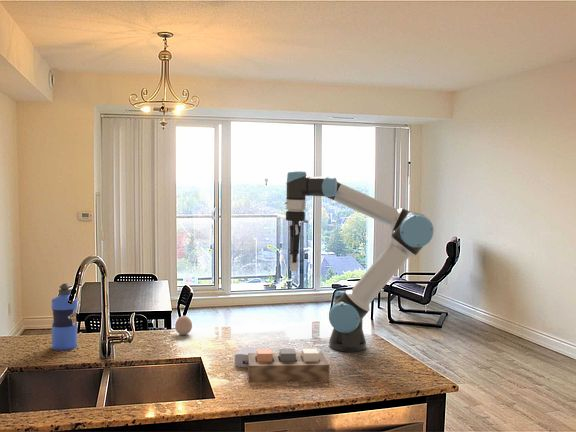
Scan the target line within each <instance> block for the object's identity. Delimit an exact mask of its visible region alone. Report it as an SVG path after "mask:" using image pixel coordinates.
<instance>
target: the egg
mask: <svg viewBox="0 0 576 432" xmlns="http://www.w3.org/2000/svg"><path fill="white" fill-rule="evenodd" d="M174 325H175V326H174V329H175V331H176V332H177V334H179V335H181V336H186V335H189V334H190V332H192V329H193V322H192V320H191V319H190V317H188V316H187V315H181V316H179V317H178V318H177V320H176V322H175V324H174Z"/></svg>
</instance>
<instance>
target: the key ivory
mask: <svg viewBox="0 0 576 432" xmlns="http://www.w3.org/2000/svg"><path fill="white" fill-rule="evenodd" d="M301 353H302V361H303V362H319V353H320V352H319V351H318V349H317V348H301Z"/></svg>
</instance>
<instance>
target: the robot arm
mask: <svg viewBox="0 0 576 432" xmlns="http://www.w3.org/2000/svg"><path fill="white" fill-rule="evenodd" d="M286 175H287V176H286V177H287V178H286V200H285V202H284V204H285V209H286V211H285V220H286V221H288V222H291V224H290V225H289V237H290V238H289V239H290V240H289V242H290V243H289V247H290V248H289V251H290V252H289V255H290V265H289V266H290V267H289V270H290V272H297V271H299V270H298V266H299V265H298V263H299V262H298V261H299V254H300V236H301V230H302V229H301V228H302V226H301V225H300V222H304V221H305V220H306V219H305V218H306V212H305V210H306V202H307V201H306V196H307V197H326V198H327V199H330V200H332V201H334V202H337V203H338V204H340V205H343V206H345V207H347V208H350V209H352V210H354V211H356V212H359V213H361V214H362V215H364V216H367V217H369V218H371V219H374V220H376V221H377V222H380V223H383V224H384V225H386V226H389V227H390V229H391V230H392V231H393V232H392V234H391V235H390V243H389V244H388V245H387V246H386V248H385V249H384V250H383V251H382V253H381V254H380V255H379V256H378V257H377V258H376V260H375V261H374V262H373V263H372V264H371V266H370V267H369V268H368V269H367V271H366V272H365V273H364V274H363V275H362V277H360V279H359V280H358V282H356V284H355V285H354V286H353V288H352V289H346V290H336V292H335V294H334V303H333V305H332V306H331V308H329V309H330V310H329V312H328V320H329V321H328V322H329V323H330V325H331V327H332V328H333V329H332V332H331V335H330V337H329V343H328V345H329V348H331V349H333V350H336V351H340V352H346V353H348V352H349V353H356V352H362V351H364V350H366V349H367V348H366V347H367V340H366V337H365V334H364V331H363V323H364V322H363V319H364V318H365V317H366V315H367V314H368V313H369V311H370V304H371V303H372V302H373V300H374V299H375V298H376V297H377V296H378V295H379V293H380V292H381V291H382V290H383V289H384V287H385V286H386V285H387V284H388V282H389V281H390V280H391V279H392V278H393V277H394V276H395V274H396V273H397V272H398V270H399V269H401V267H402V266H403V265H404V264H405V262H406V261H407V260H408V259H409V258H410V257H414V256H417V255H418V253H419V252H420V251H421V250H422V248H423V247H425V246H427V245H428V244H429V243H430V242H431V240H432V238H433V235H434V226H433V222H432V221H431V220H430V219H429V218H428V217H427V216H426V215H424V214H421V213H418V212H413V211H410V210H407V209H405V208H403V207H401V208H397V207H395V206H392V205H390V204H388V203H385V202H383V201H381V200H379V199H376V198H374V197H372V196H369V194H368V195H367V194H365V193H363V192H361V191H358V190H356V189H355V188H352V187H350V186H347V185H346V184H343V183H340V182H339V181H337V178H336V177H332V176H308V175H307V172H306V171H303V170H302V171H301V170H300V171H299V170H298V171H297V170H289V171H288V172H287V174H286Z"/></svg>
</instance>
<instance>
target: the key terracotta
mask: <svg viewBox="0 0 576 432" xmlns="http://www.w3.org/2000/svg"><path fill="white" fill-rule="evenodd" d="M273 353H274V352H273V350H272V348H262V349H257V360H256V362H273Z"/></svg>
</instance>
